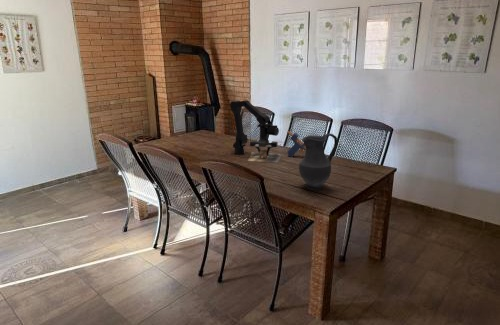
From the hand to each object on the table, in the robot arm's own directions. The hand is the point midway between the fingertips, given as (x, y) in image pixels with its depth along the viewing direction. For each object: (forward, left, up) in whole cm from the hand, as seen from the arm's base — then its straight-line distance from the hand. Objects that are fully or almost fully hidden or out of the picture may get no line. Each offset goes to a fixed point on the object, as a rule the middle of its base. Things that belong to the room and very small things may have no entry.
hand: (263, 155), depth 240 cm
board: (0, -1, -3) cm, 3 cm away
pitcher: (+37, -44, -3) cm, 58 cm away
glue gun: (+27, +12, -3) cm, 30 cm away
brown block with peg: (0, -1, -1) cm, 2 cm away
